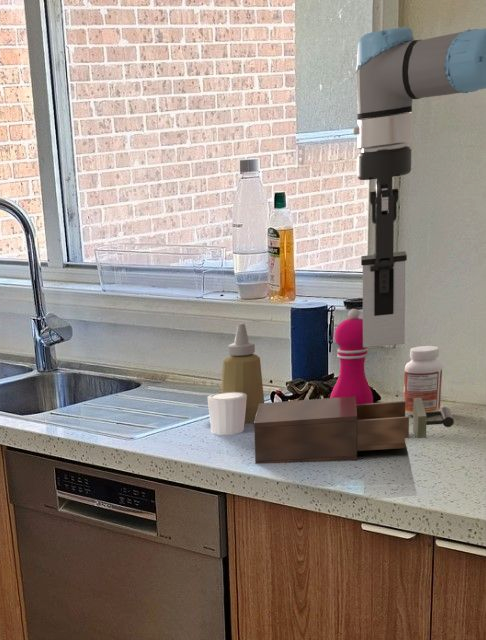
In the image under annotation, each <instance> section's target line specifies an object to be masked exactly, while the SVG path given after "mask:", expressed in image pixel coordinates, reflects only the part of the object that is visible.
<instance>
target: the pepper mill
mask: <svg viewBox="0 0 486 640" xmlns="http://www.w3.org/2000/svg"><path fill="white" fill-rule="evenodd" d="M347 315H348V318H347V319H344V320H342V321H341V322H340V323H339V324H338V325H337V326H336V328H335V330H334V341H335V343H336V344H337V346H338V347H339V348H337V349H336V352H337V355H336V357H337V358H338V359H339V374H338V378H337V380H336V383H335V384H334V387H333V389H332V391H331V393H330V397H329V398H338V397H352V396H356V404H370V403H374V396H373V392H372V389H371V387H370V384H369V382H368V380H367V376H366V373H365V361H366V357H368V356H369V353H368V350H369V347H364V348H363V318H359V317H360V311H359V309H358V308H351V309H350V310H349V312H348V314H347Z"/></svg>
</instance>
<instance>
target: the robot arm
mask: <svg viewBox="0 0 486 640" xmlns="http://www.w3.org/2000/svg"><path fill="white" fill-rule="evenodd" d="M355 74H356V89H357V90H356V91H357V92H356V96H357V98H356V99H357V116H356V117H357V125H358V126H355V127H354V128H353V129H352V134H353V135H358V136H357V139H356V140H357V143H356V144H357V149H359V150H361V152H360V153H358V155H357V156H356V177H357V179H358V180H360V181H371V180H375V190H374V191H370V192H369V204H370V206H371V223H372V224H373V225H374V253H373V255H376V261H375V267H370V272H373V271H374V316H379V315H390V314H393V300H394V269H393V267H394V260H393V253H394V239H395V238H394V227H395V225H394V222H396V220H397V214H398V213H397V212H398V211H397V205H398V204H397V203H398V201H399V189H398V188H393V178H394V177H399V176H405V175H408V174H410V173H411V171H412V148H411V147H410V146H408V143H409V144H410V143H411V142H412V141H413V112H412V111H413V100H419V99H423V98H424V99H425V98H431V97H432V98H433V97H441V96H448V95H454V94H461V93H462V94H468V93H473V92H477V91H480V90H484V89H486V28H473V29H466V30H463V31H460V32H454V33H450V34H444V35H439V36H434V37H430V38H425V39H415V38H414V32H413V29H412V28H411V27H410V26H403V27H395V28H389V29H385V30H378V31H377V30H376V31H372V32H369V33H365V34H363V35H362V36H361V37H360V38H359V40H358V43H357V53H356V67H355Z"/></svg>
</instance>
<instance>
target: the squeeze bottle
mask: <svg viewBox="0 0 486 640" xmlns="http://www.w3.org/2000/svg"><path fill="white" fill-rule="evenodd" d="M246 327H247V326H246V323H245V322H240V323H237V327H236V333H235V336H234V337H235V338H234V341H233V343H230V344H229V345H227V347H228V351H227V353H228V355H227V356H226V357H225V358H224V359H223V361H222V370H221V371H222V372H221V383H220V392H219V393H223V392H241V393H245V394H246V395H247V399H246V411H245V422H244V425H249V424H254V422H255V418H256V414H257V410H258V406H259V403H265V395H264V394H265V393H264V385H263V374H262V364H261V357H259V356H258V355H257V354H255V352H256V350H255V349H256V344H255V342H251V341H250V340H249V335H248V332H247V328H246Z"/></svg>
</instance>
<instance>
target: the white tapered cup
mask: <svg viewBox="0 0 486 640" xmlns="http://www.w3.org/2000/svg"><path fill="white" fill-rule="evenodd" d="M246 399H247V395H246V394H245V393H241V392H223V393H220V392H217V393H213V394H210V395H208V396H207V405H208V406H207V407H208V415H209V423H210V432H211V434H212V435H218V436H231V435H237V434H241V433H243V432H245V424H244V422H245V411H246Z"/></svg>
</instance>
